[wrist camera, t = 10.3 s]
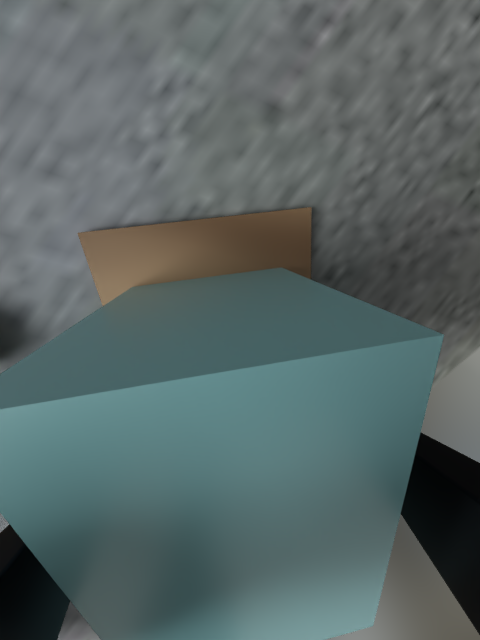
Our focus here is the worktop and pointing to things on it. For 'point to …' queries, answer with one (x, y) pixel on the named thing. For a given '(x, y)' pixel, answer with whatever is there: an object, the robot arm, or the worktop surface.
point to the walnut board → (197, 249)
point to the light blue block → (218, 457)
